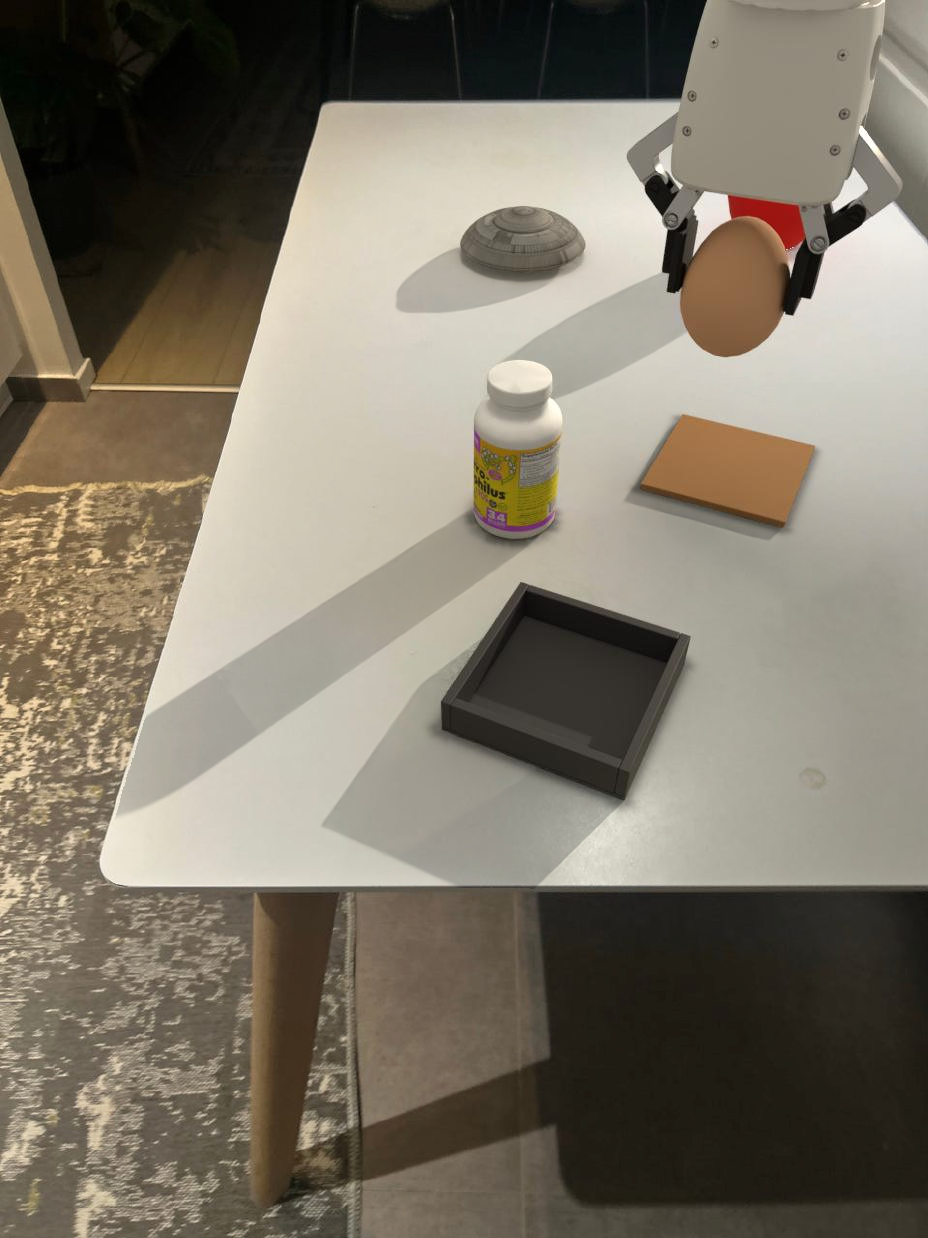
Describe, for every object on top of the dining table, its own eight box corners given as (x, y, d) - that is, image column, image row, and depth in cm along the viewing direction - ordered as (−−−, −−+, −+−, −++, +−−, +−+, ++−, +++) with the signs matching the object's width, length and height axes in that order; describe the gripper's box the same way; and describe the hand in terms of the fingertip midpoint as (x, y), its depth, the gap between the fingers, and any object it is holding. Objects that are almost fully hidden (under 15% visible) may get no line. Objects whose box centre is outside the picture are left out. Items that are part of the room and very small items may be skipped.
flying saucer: (511, 293, 104) (513, 245, 100) (435, 250, 113) (434, 203, 109) (610, 259, 110) (615, 212, 106) (531, 220, 119) (533, 176, 115)
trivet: (813, 451, 81) (815, 445, 81) (783, 528, 74) (785, 522, 73) (681, 419, 85) (682, 413, 85) (639, 489, 77) (640, 483, 77)
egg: (651, 345, 63) (670, 212, 57) (723, 319, 66) (749, 189, 60) (721, 388, 59) (749, 250, 53) (795, 358, 62) (830, 223, 56)
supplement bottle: (460, 504, 76) (458, 364, 67) (530, 484, 78) (538, 344, 69) (496, 552, 72) (498, 408, 63) (570, 529, 74) (583, 386, 65)
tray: (684, 664, 63) (691, 635, 61) (624, 800, 55) (629, 772, 53) (519, 609, 67) (520, 581, 65) (441, 729, 59) (440, 701, 57)
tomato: (789, 276, 106) (821, 144, 97) (700, 252, 111) (722, 124, 102) (831, 240, 114) (864, 114, 104) (745, 219, 119) (770, 97, 109)
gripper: (988, -39, 47) (881, 296, 59) (658, -60, 52) (624, 251, 65) (978, -11, 42) (863, 348, 55) (616, -37, 48) (587, 294, 60)
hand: (734, 293), depth 60 cm, fingers closed on egg, 6 cm apart
